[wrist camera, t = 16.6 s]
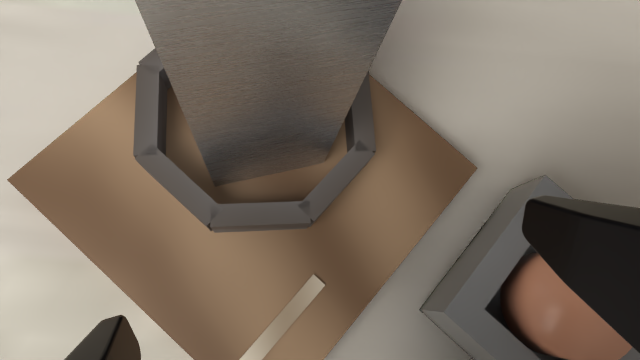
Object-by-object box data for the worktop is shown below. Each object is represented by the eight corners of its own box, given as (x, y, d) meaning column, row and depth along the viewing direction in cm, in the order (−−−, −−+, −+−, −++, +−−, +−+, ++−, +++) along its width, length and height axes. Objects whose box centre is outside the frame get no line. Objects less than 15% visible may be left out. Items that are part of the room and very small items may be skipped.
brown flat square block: (266, 420, 16) (267, 443, 14) (23, 187, 17) (-18, 168, 15) (464, 175, 20) (495, 157, 17) (254, -8, 21) (253, -51, 18)
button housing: (551, 429, 18) (597, 451, 15) (419, 309, 18) (443, 312, 16) (633, 294, 20) (685, 294, 17) (511, 189, 20) (545, 175, 18)
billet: (323, 163, 18) (465, -134, 5) (214, 186, 17) (92, -99, 5) (297, 66, 19) (368, -377, 6) (193, 84, 18) (42, -381, 6)
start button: (560, 378, 17) (607, 390, 15) (481, 307, 17) (514, 309, 15) (609, 297, 18) (660, 298, 16) (534, 232, 18) (573, 223, 16)
